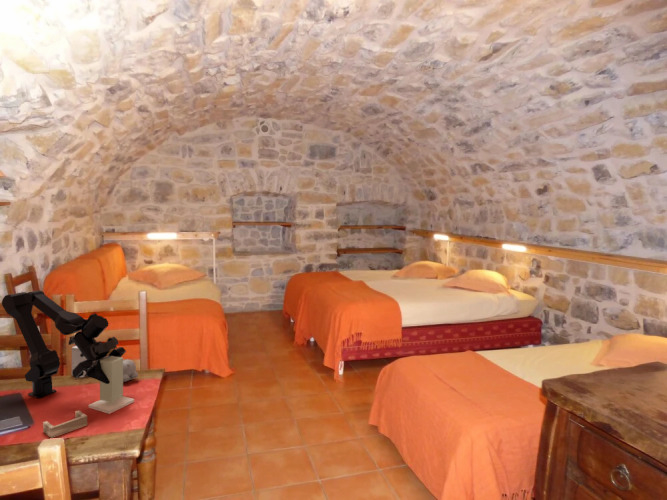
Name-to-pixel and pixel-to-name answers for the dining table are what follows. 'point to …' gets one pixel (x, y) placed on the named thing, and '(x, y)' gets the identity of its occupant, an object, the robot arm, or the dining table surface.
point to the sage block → (112, 379)
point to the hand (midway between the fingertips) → (114, 380)
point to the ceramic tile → (111, 404)
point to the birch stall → (65, 425)
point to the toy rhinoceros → (129, 370)
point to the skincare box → (77, 359)
